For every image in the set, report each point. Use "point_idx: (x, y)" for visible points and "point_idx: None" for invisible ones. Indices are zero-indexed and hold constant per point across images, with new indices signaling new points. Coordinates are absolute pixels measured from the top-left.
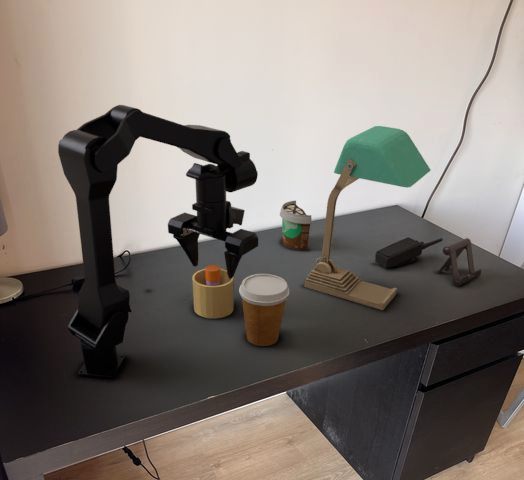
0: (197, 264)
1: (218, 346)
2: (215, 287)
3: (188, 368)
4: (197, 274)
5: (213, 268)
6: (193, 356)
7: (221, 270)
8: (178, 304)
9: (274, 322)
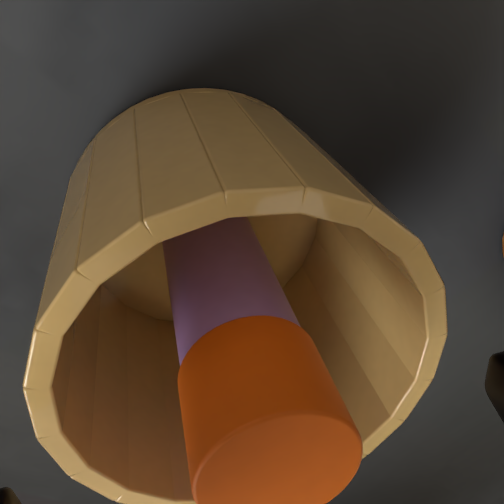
0: (9, 500)
1: (436, 378)
2: (382, 435)
3: (420, 485)
4: (75, 436)
5: (294, 473)
6: (396, 456)
7: (189, 228)
8: (15, 342)
9: None
